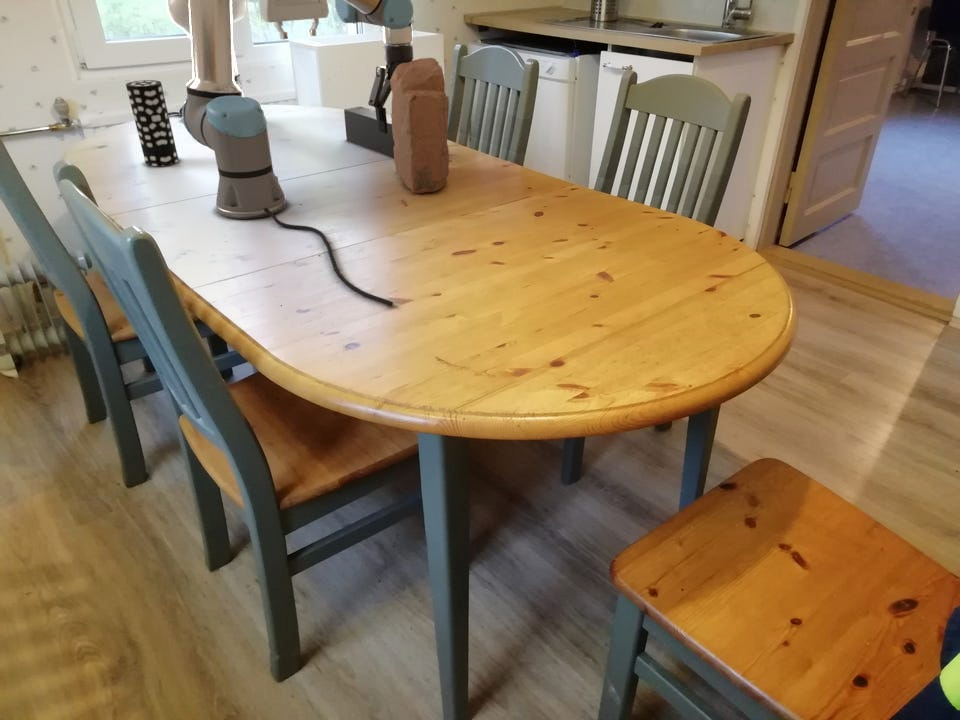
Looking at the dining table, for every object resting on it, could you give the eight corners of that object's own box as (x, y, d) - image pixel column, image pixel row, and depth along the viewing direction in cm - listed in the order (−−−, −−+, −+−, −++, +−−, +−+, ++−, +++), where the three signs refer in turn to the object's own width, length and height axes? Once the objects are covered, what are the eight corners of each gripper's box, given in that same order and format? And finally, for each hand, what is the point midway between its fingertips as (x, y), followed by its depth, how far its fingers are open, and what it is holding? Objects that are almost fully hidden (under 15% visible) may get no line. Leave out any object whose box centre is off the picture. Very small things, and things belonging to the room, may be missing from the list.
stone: (458, 191, 168) (455, 67, 154) (413, 195, 165) (406, 69, 151) (434, 168, 185) (430, 55, 171) (393, 172, 182) (386, 57, 168)
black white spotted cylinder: (184, 157, 190) (167, 80, 179) (169, 166, 183) (151, 87, 172) (155, 156, 190) (136, 79, 179) (139, 165, 183) (119, 86, 172)
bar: (419, 156, 193) (418, 123, 188) (403, 161, 190) (401, 127, 185) (362, 137, 210) (360, 106, 205) (346, 141, 206) (343, 109, 201)
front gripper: (425, 37, 187) (429, 117, 199) (349, 47, 173) (357, 133, 185) (444, 40, 183) (446, 122, 195) (367, 51, 168) (374, 139, 180)
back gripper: (318, -20, 198) (323, 33, 206) (253, -17, 186) (261, 39, 194) (330, -19, 194) (335, 35, 202) (265, -15, 182) (272, 42, 190)
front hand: (403, 127), depth 190 cm, fingers open, 13 cm apart
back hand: (298, 37), depth 198 cm, fingers open, 8 cm apart
